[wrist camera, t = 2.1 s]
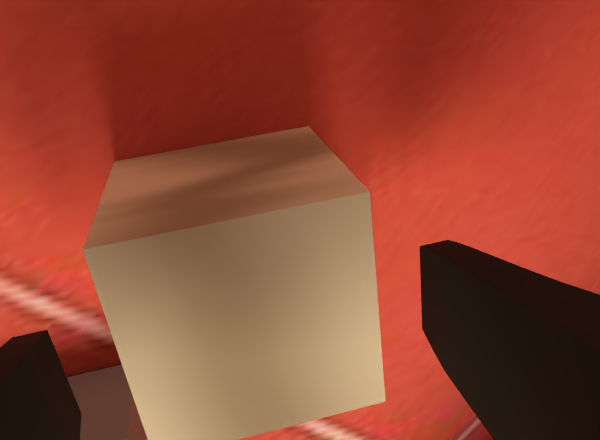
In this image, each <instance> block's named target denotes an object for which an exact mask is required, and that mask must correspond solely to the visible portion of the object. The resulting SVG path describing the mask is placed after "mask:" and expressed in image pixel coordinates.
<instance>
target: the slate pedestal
mask: <svg viewBox="0 0 600 440" xmlns="http://www.w3.org/2000/svg"><path fill="white" fill-rule="evenodd" d="M67 379H68V382H69V384H70V387H71V389H72V391H73V394H74V396H75V399H76V401H77V404H78V406H79V408H80V411H81V413H82V415H81V430H80V440H148V439H147V436H146V433H145V430H144V427H143V424H142V421H141V419H140V416H139V413H138V410H137V407H136V404H135V401H134V398H133V395H132V392H131V390H130V387H129V384H128V381H127V378H126V375H125V372H124V369H123V366H122V364H121V365H116V366H112V367H108V368H104V369H99V370H95V371H91V372H87V373H82V374H78V375H74V376H70V377H67Z"/></svg>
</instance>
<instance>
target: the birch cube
mask: <svg viewBox="0 0 600 440" xmlns="http://www.w3.org/2000/svg"><path fill="white" fill-rule="evenodd" d="M82 250H83V253H84V256H85V259H86V262H87V265H88V268H89V271H90V274H91V277H92V279H93V282H94V285H95V288H96V291H97V294H98V297H99V300H100V303H101V306H102V308H103V311H104V314H105V317H106V320H107V323H108V326H109V329H110V332H111V334H112V337H113V340H114V343H115V346H116V349H117V352H118V355H119V358H120V361H121V363H122V366H123V369H124V372H125V375H126V378H127V381H128V384H129V387H130V390H131V392H132V395H133V398H134V401H135V404H136V407H137V410H138V413H139V416H140V419H141V421H142V424H143V427H144V430H145V433H146V436H147V439H148V440H239V439H243V438H247V437H251V436H255V435H258V434H262V433H266V432H270V431H274V430H278V429H281V428H285V427H289V426H293V425H297V424H301V423H305V422H308V421H312V420H316V419H320V418H324V417H328V416H332V415H335V414H339V413H343V412H347V411H351V410H355V409H359V408H362V407H366V406H370V405H374V404H378V403H382V402H385V389H384V376H383V363H382V349H381V336H380V323H379V309H378V296H377V282H376V269H375V256H374V242H373V229H372V216H371V202H370V191H369V190H368V189H367V188H366V187H365V186H364V185H363V184H362V183H361V182H360V181H359V180H358V179H357V177H356V176H355V175H354V174H353V173H352V172H351V171H350V170H349V169H348V168H347V167H346V166H345V165H344V163H343V162H342V161H341V160H340V159H339V158H338V157H337V156H336V155H335V154H334V153H333V152H332V151H331V149H330V148H329V147H328V146H327V145H326V144H325V143H324V142H323V141H322V140H321V139H320V138H319V137H318V135H317V134H316V133H315V132H314V131H313V130H312V129H311V128H310V127H309V126H306V127H300V128H295V129H289V130H284V131H278V132H273V133H267V134H262V135H256V136H251V137H245V138H240V139H234V140H229V141H223V142H218V143H212V144H207V145H201V146H196V147H190V148H185V149H179V150H174V151H168V152H163V153H157V154H152V155H146V156H141V157H135V158H130V159H124V160H119V161H114V163H113V166H112V169H111V172H110V175H109V177H108V180H107V183H106V186H105V188H104V191H103V194H102V197H101V199H100V202H99V205H98V208H97V210H96V213H95V216H94V219H93V222H92V224H91V227H90V230H89V233H88V235H87V238H86V241H85V244H84V246H83V249H82Z"/></svg>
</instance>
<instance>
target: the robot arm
mask: <svg viewBox="0 0 600 440" xmlns="http://www.w3.org/2000/svg"><path fill="white" fill-rule="evenodd" d="M420 270H421V300H422V329H423V331H424V333H425V335H426V337H427V339H428V341H429V343H430V345H431V347H432V349H433V351H434V352H435V354H436V356H437V358H438V360H439V362H440V363H441V365H442V367H443V369H444V371H445V372H446V373H447V375H448V376H449V378H450V379H451V381H452V382H453V383H454V385H455V386H456V388H457V389H458V390H459V392H460V393H461V395H462V396H463V397H464V399H465V400H466V402H467V403H468V404H469V406H470V407H471V409H472V410H473V411H474V413H475V414H476V415H477V417H478V418H479V420H480V421H481V422H482V424H483V425H484V426H485V428H486V429H487V431H488V432H489V433H490V435H491V436H492V437H493V439H494V440H600V295H599V294H596V293H593V292H589V291H586V290H583V289H580V288H577V287H574V286H571V285H568V284H565V283H563V282H560V281H557V280H554V279H551V278H549V277H546V276H543V275H541V274H538V273H535V272H533V271H530V270H528V269H525V268H522V267H520V266H517V265H515V264H512V263H510V262H507V261H504V260H502V259H499V258H497V257H494V256H492V255H489V254H487V253H484V252H482V251H479V250H477V249H474V248H471V247H469V246H466V245H463V244H460V243H457V242H454V241H450V240H446V241H441V242H437V243H432V244H428V245H423V246H420ZM81 415H82V413H81V411H80V408H79V406H78V404H77V401H76V399H75V396H74V394H73V391H72V389H71V387H70V384H69V382H68V379H67V377H66V374H65V372H64V370H63V367H62V365H61V362H60V360H59V358H58V355H57V353H56V350H55V348H54V345H53V343H52V341H51V338H50V336H49V333H48V331H47V330H44V331H40V332H35V333H31V334H27V335H22V336H18V337H13V338H11V339H10V340H9V341H8V342H6V343H5V344H4V345H3V346H2V347H0V440H80V430H81Z"/></svg>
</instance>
